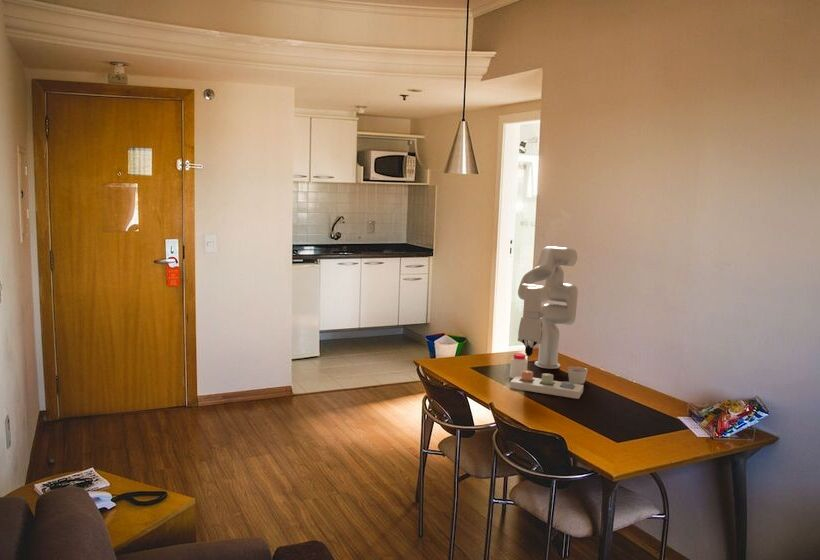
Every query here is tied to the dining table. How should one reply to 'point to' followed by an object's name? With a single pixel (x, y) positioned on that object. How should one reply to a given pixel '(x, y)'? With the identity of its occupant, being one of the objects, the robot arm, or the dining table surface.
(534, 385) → the console
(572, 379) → the candle
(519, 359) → the pill bottle
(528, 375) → the button terracotta
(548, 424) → the dining table surface
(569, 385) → the button slate
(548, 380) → the button sage
